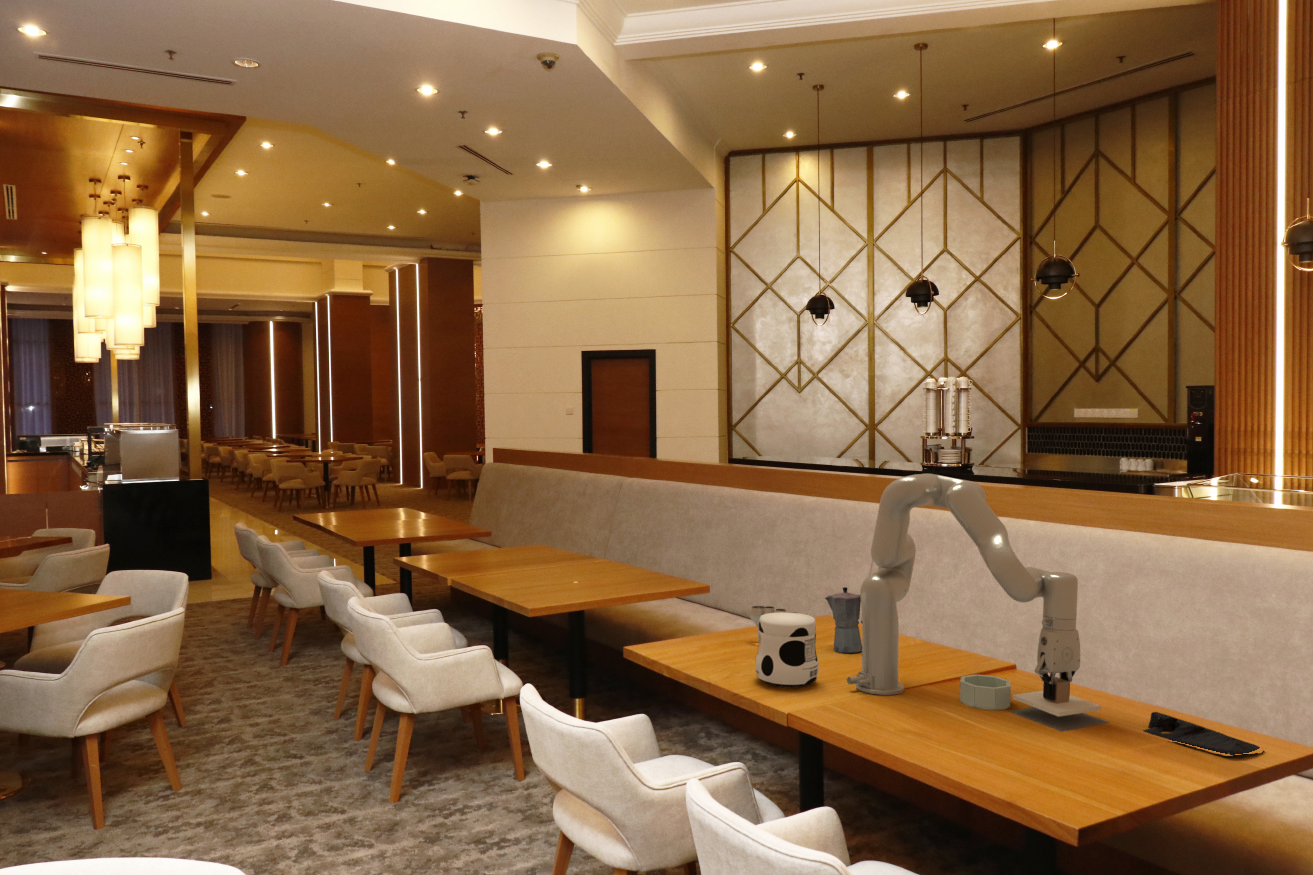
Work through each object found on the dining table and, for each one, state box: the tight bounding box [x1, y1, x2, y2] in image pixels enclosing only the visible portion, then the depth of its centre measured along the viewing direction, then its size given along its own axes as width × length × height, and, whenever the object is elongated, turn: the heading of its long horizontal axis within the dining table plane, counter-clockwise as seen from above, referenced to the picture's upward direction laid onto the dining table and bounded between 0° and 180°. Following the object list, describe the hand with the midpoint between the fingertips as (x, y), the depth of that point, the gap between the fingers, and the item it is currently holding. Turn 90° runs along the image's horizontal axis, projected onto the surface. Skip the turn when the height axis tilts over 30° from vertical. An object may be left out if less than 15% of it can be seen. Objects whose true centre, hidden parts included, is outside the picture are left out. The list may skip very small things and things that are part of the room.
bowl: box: [959, 674, 1012, 711], centre depth 235 cm, size 12×12×6 cm
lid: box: [1012, 676, 1102, 717], centre depth 224 cm, size 14×14×6 cm
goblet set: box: [749, 605, 797, 642], centre depth 289 cm, size 28×6×13 cm, turn 30°
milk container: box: [755, 611, 820, 688], centre depth 254 cm, size 17×17×18 cm
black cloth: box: [1142, 711, 1261, 755], centre depth 209 cm, size 15×22×5 cm
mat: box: [1008, 706, 1111, 732], centre depth 224 cm, size 16×16×1 cm
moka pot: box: [824, 586, 862, 654], centre depth 290 cm, size 10×15×20 cm, turn 82°
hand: (1056, 697), depth 224 cm, fingers closed on lid, 4 cm apart
